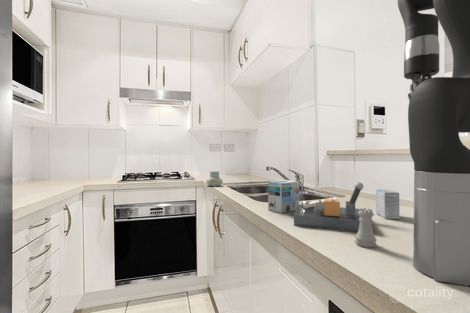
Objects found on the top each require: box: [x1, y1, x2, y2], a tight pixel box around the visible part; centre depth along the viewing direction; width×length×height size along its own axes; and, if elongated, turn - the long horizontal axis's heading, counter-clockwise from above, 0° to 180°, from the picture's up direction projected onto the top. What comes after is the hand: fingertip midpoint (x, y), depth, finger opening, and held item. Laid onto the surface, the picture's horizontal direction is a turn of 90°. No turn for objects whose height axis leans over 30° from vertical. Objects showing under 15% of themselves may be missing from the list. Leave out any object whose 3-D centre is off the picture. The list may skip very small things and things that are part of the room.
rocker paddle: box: [304, 196, 338, 208], centre depth 77 cm, size 4×10×1 cm, turn 70°
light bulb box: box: [267, 179, 301, 214], centre depth 91 cm, size 11×7×11 cm, turn 129°
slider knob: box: [324, 197, 341, 217], centre depth 71 cm, size 4×4×5 cm
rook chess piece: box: [354, 207, 378, 249], centre depth 55 cm, size 4×4×8 cm
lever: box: [349, 181, 364, 205], centre depth 78 cm, size 3×3×9 cm
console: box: [293, 198, 374, 233], centre depth 75 cm, size 17×20×6 cm
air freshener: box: [205, 170, 223, 187], centre depth 164 cm, size 11×8×10 cm
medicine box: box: [375, 189, 401, 220], centre depth 82 cm, size 8×4×9 cm, turn 168°
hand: (420, 122), depth 65 cm, fingers closed
